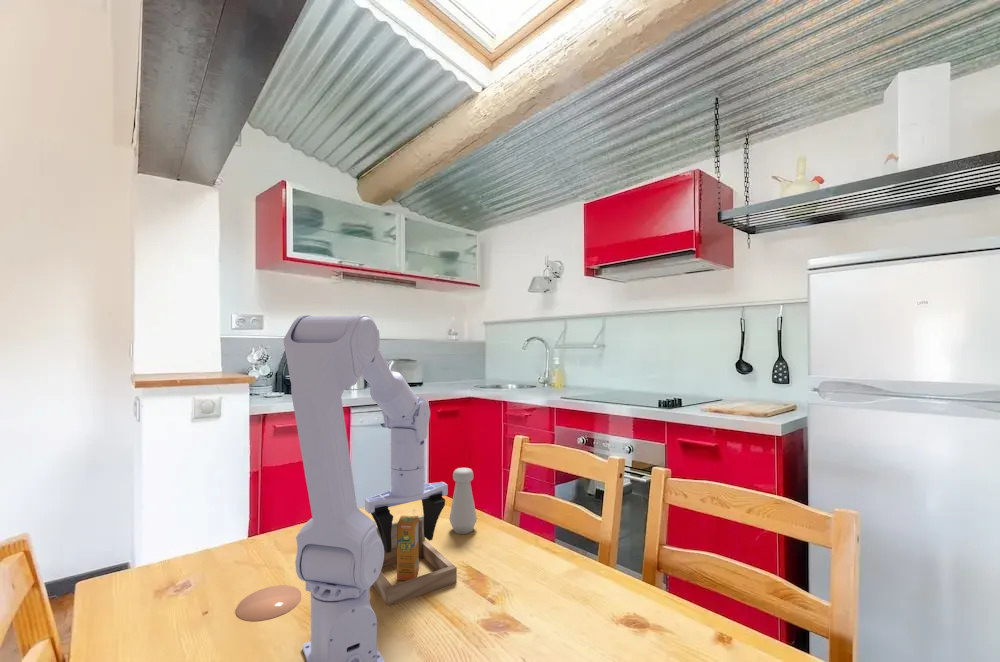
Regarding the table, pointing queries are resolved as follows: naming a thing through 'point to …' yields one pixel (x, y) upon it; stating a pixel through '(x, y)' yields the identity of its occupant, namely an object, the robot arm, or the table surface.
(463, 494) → the salt shaker
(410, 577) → the supplement box
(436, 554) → the brown open rectangular frame
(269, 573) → the table surface
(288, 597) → the saucer
